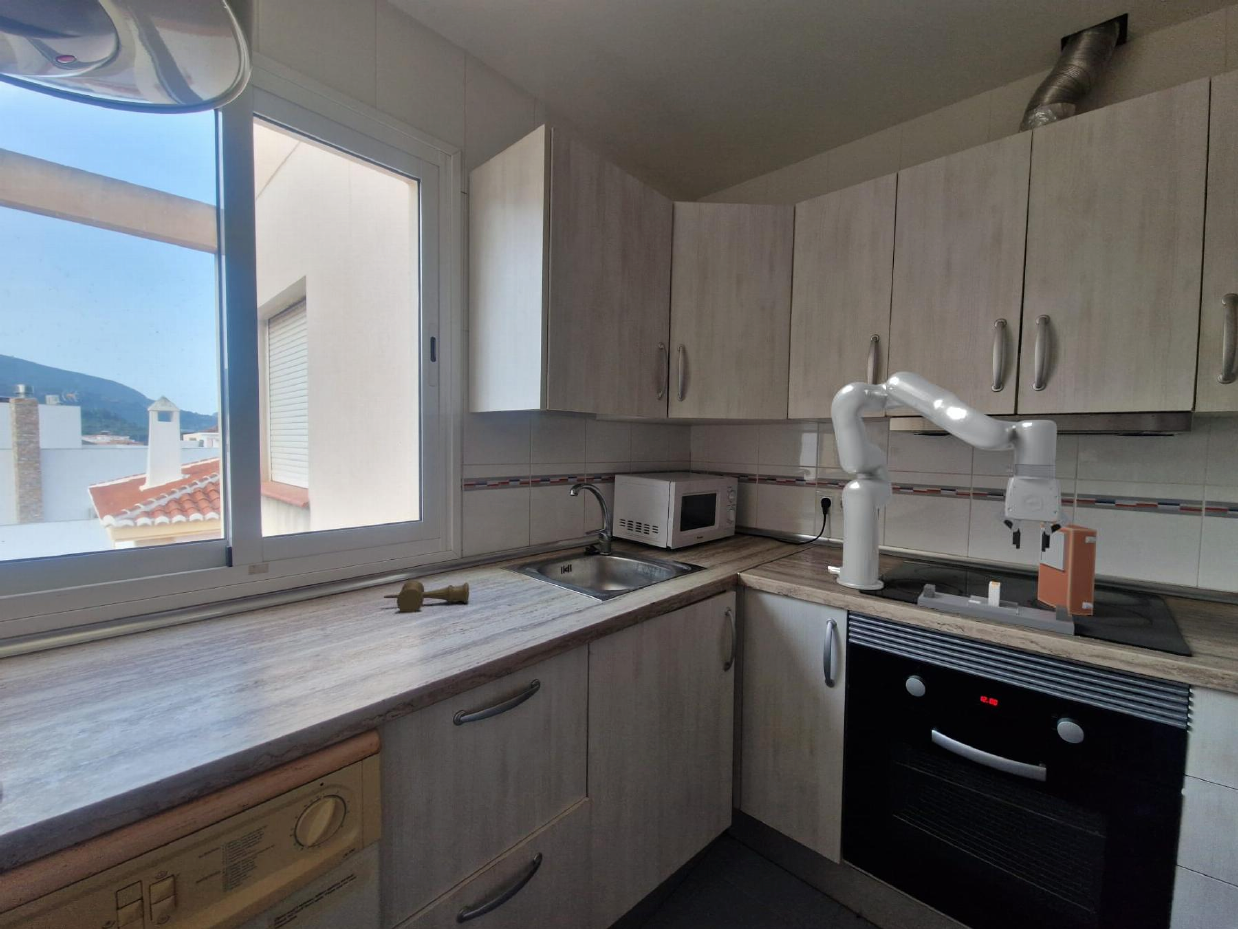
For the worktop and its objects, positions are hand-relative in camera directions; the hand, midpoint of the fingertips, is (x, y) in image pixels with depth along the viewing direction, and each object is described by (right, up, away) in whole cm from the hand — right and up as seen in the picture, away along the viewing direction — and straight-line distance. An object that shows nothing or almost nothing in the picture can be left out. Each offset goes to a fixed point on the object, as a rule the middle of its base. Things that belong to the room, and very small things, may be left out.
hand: (1030, 548), depth 119 cm
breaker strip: (-6, -17, +5) cm, 19 cm away
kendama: (-145, -16, +6) cm, 146 cm away
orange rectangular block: (+18, -17, +12) cm, 27 cm away
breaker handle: (-5, -15, +5) cm, 16 cm away
